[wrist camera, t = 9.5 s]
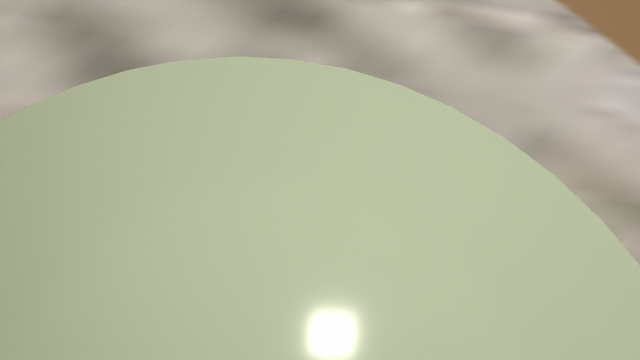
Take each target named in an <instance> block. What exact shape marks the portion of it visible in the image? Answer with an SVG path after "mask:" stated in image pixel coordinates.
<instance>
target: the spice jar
mask: <svg viewBox="0 0 640 360" xmlns="http://www.w3.org/2000/svg"><path fill="white" fill-rule="evenodd" d="M0 360H640V265H639V264H638V263H637V261H636V260H635V259H634V258H633V257H632V255H631V254H630V253H629V252H628V251H627V249H626V248H625V247H624V246H623V245H622V244H621V242H620V241H619V240H618V239H617V238H616V236H615V235H614V234H613V233H612V232H611V230H610V229H609V228H608V227H607V226H606V224H605V223H604V222H603V221H602V220H601V219H600V218H599V217H598V216H597V215H596V214H595V213H593V212H592V211H591V210H590V209H589V208H588V207H587V206H586V205H585V204H584V203H583V202H582V201H581V200H580V199H579V198H578V197H577V196H576V195H575V194H574V193H572V192H571V191H570V190H569V189H568V188H567V187H566V186H565V185H564V184H563V183H562V182H561V181H560V180H559V179H558V178H557V177H556V176H554V175H553V174H552V173H550V172H549V171H548V170H546V169H545V168H544V167H542V166H541V165H540V164H538V163H537V162H536V161H534V160H533V159H532V158H531V157H529V156H528V155H527V154H525V153H524V152H523V151H521V150H520V149H519V148H517V147H516V146H515V145H513V144H512V143H511V142H509V141H508V140H507V139H505V138H504V137H502V136H500V135H499V134H497V133H495V132H493V131H492V130H490V129H488V128H487V127H485V126H483V125H481V124H480V123H478V122H476V121H475V120H473V119H471V118H469V117H468V116H466V115H464V114H463V113H461V112H459V111H457V110H456V109H454V108H452V107H450V106H447V105H445V104H443V103H441V102H438V101H436V100H434V99H431V98H429V97H427V96H424V95H422V94H420V93H418V92H415V91H413V90H411V89H408V88H406V87H404V86H401V85H399V84H395V83H392V82H389V81H385V80H382V79H379V78H375V77H372V76H369V75H365V74H362V73H359V72H355V71H352V70H349V69H345V68H339V67H333V66H328V65H322V64H316V63H310V62H305V61H299V60H293V59H276V58H257V57H238V56H237V57H222V58H206V59H191V60H181V61H175V62H170V63H164V64H159V65H153V66H148V67H143V68H137V69H132V70H127V71H124V72H121V73H118V74H114V75H111V76H108V77H104V78H101V79H98V80H95V81H91V82H88V83H85V84H81V85H78V86H75V87H73V88H71V89H68V90H66V91H64V92H61V93H59V94H57V95H54V96H52V97H50V98H47V99H45V100H43V101H40V102H38V103H36V104H33V105H31V106H29V107H26V108H24V109H22V110H21V111H19V112H17V113H15V114H13V115H12V116H10V117H8V118H6V119H5V120H3V121H1V122H0Z"/></svg>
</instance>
